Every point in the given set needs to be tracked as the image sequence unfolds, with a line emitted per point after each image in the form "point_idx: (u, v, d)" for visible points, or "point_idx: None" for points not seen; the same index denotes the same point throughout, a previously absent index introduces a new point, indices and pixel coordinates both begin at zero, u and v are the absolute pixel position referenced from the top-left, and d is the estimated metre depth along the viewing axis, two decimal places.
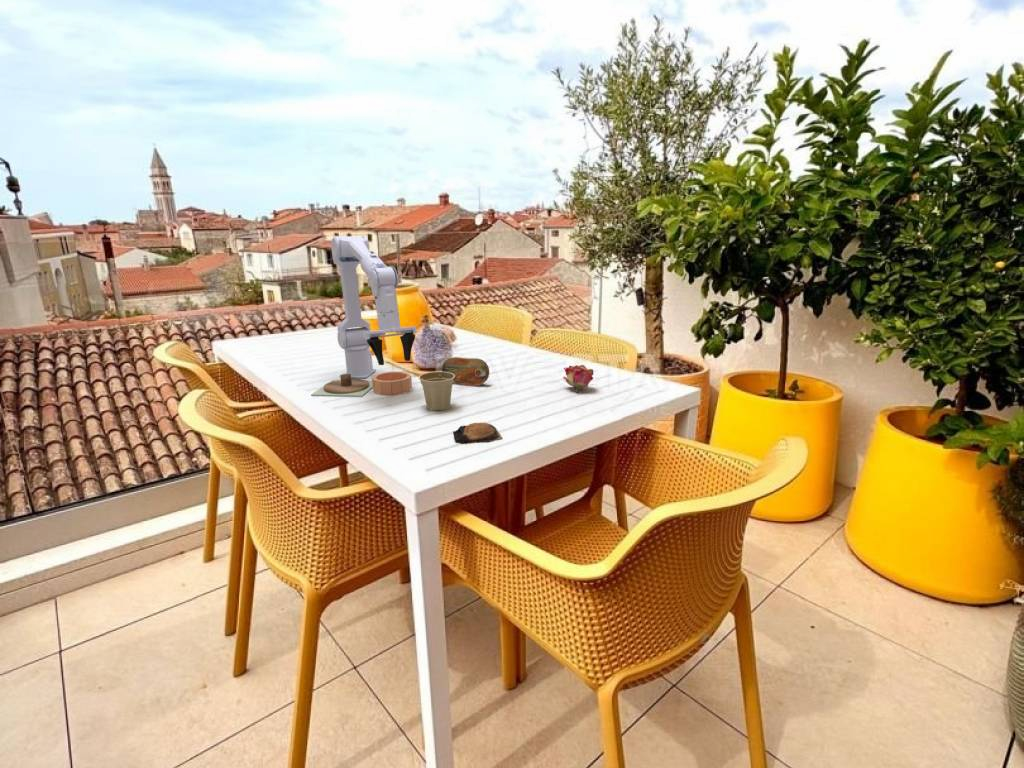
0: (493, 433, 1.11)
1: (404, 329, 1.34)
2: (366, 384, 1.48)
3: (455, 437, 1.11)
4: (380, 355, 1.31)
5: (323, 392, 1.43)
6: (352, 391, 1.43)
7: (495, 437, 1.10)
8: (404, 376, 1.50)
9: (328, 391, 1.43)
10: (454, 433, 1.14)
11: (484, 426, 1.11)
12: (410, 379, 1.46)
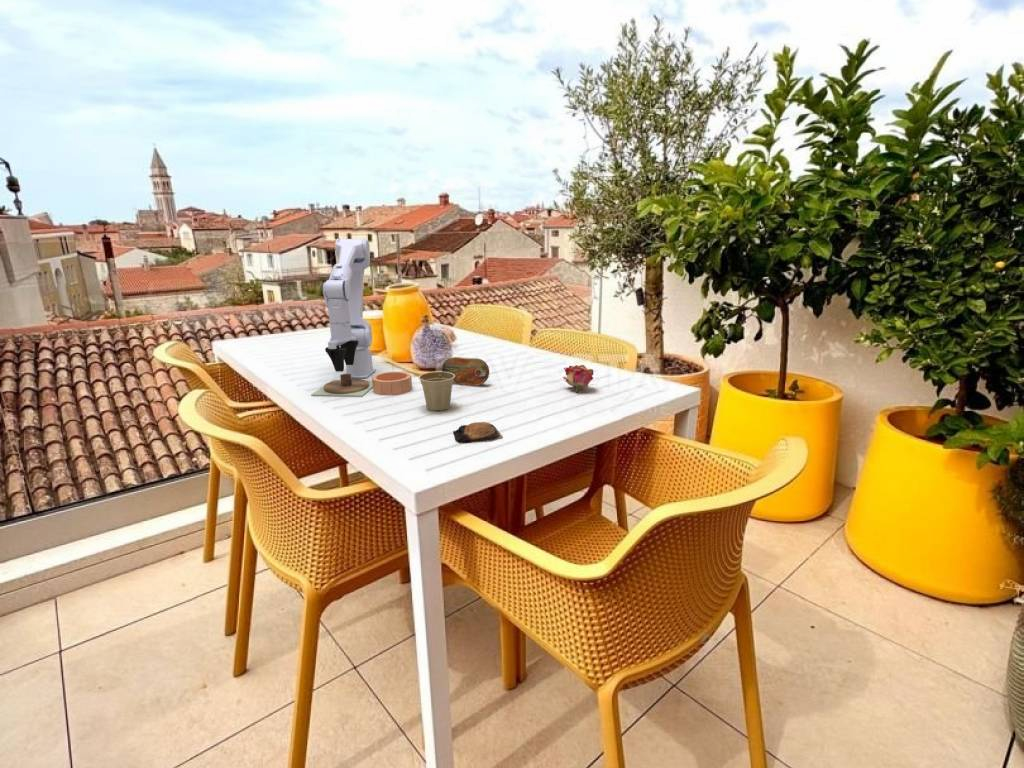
0: (494, 432, 1.11)
1: (352, 336, 1.47)
2: (366, 384, 1.48)
3: (456, 437, 1.12)
4: (343, 362, 1.41)
5: (323, 392, 1.43)
6: (352, 391, 1.43)
7: (496, 436, 1.11)
8: (404, 376, 1.50)
9: (328, 391, 1.43)
10: (454, 433, 1.14)
11: (484, 425, 1.11)
12: (410, 379, 1.46)
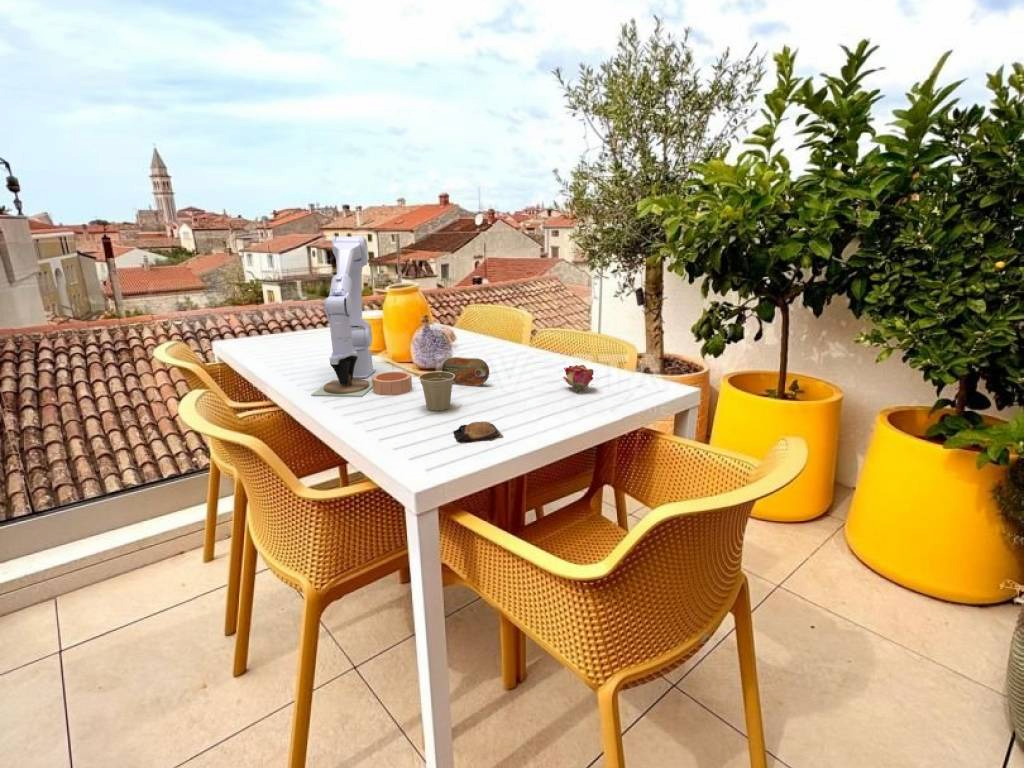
0: (494, 432, 1.12)
1: (354, 351, 1.48)
2: (366, 384, 1.48)
3: (456, 436, 1.12)
4: (347, 375, 1.45)
5: (323, 392, 1.43)
6: (352, 391, 1.43)
7: (496, 436, 1.11)
8: (404, 376, 1.50)
9: (328, 391, 1.43)
10: (454, 432, 1.14)
11: (485, 425, 1.12)
12: (410, 379, 1.46)
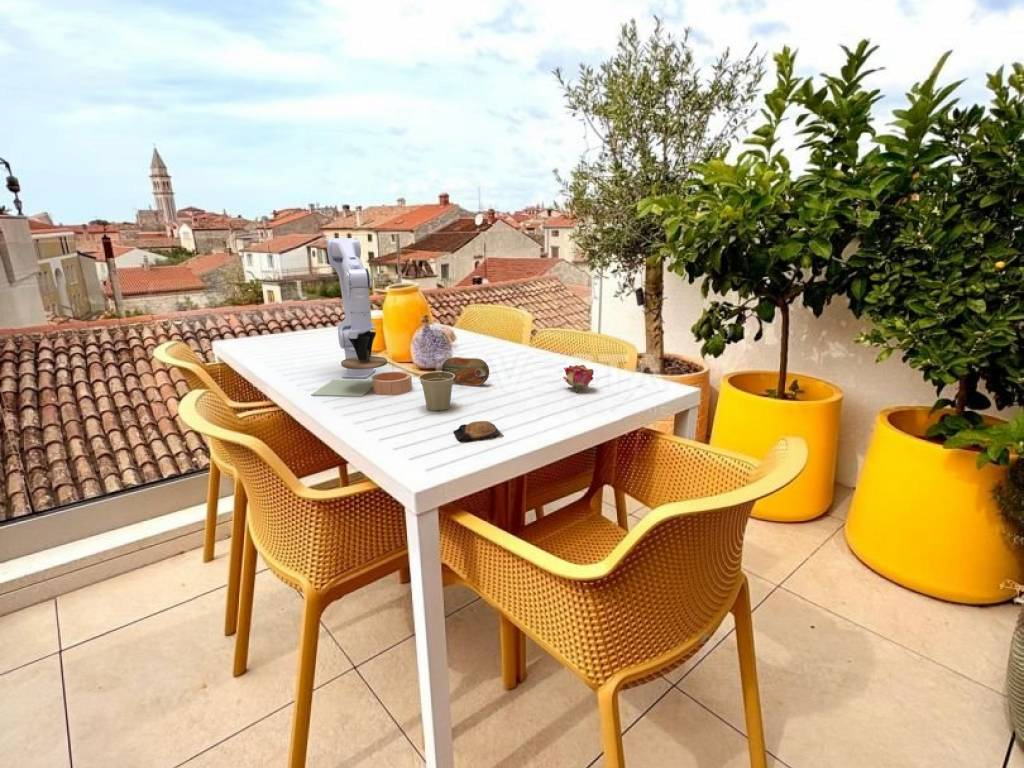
0: (495, 431, 1.12)
1: (372, 326, 1.45)
2: (384, 361, 1.46)
3: (457, 436, 1.12)
4: (366, 351, 1.42)
5: (323, 392, 1.43)
6: (371, 367, 1.40)
7: (497, 435, 1.12)
8: (404, 376, 1.50)
9: (346, 366, 1.40)
10: (455, 432, 1.14)
11: (485, 424, 1.12)
12: (410, 379, 1.46)
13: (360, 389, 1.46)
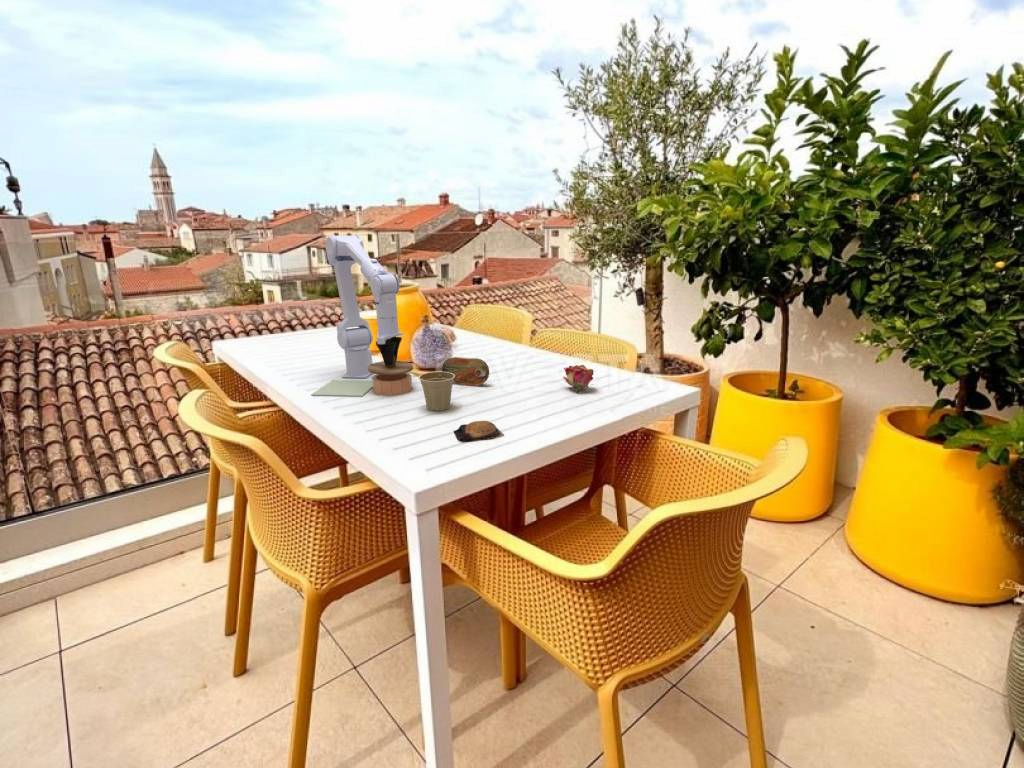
0: (495, 430, 1.12)
1: None
2: (410, 366, 1.46)
3: (457, 436, 1.12)
4: (392, 356, 1.42)
5: (323, 392, 1.43)
6: (398, 372, 1.40)
7: (497, 434, 1.12)
8: (404, 376, 1.50)
9: (373, 372, 1.40)
10: (455, 432, 1.14)
11: (485, 423, 1.12)
12: (410, 379, 1.46)
13: (360, 389, 1.46)
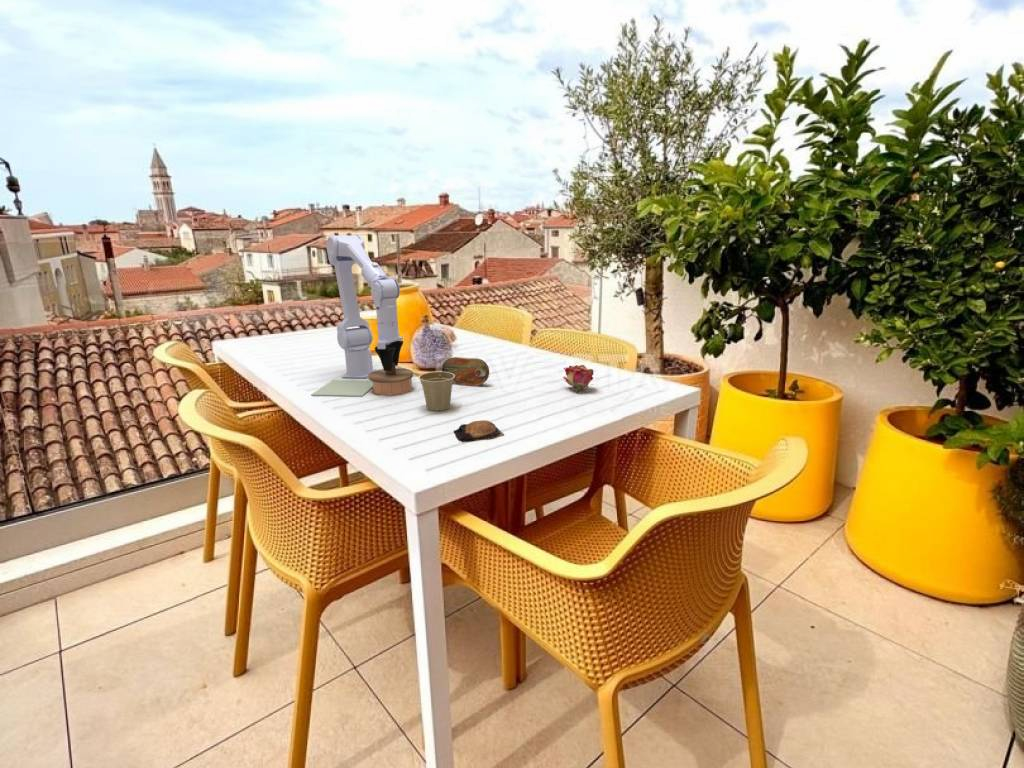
0: (495, 430, 1.13)
1: None
2: (410, 373, 1.46)
3: (457, 436, 1.12)
4: (391, 362, 1.41)
5: (323, 392, 1.43)
6: (398, 380, 1.41)
7: (497, 434, 1.12)
8: None
9: (374, 380, 1.41)
10: (455, 432, 1.14)
11: (485, 423, 1.12)
12: (410, 379, 1.46)
13: (360, 389, 1.46)
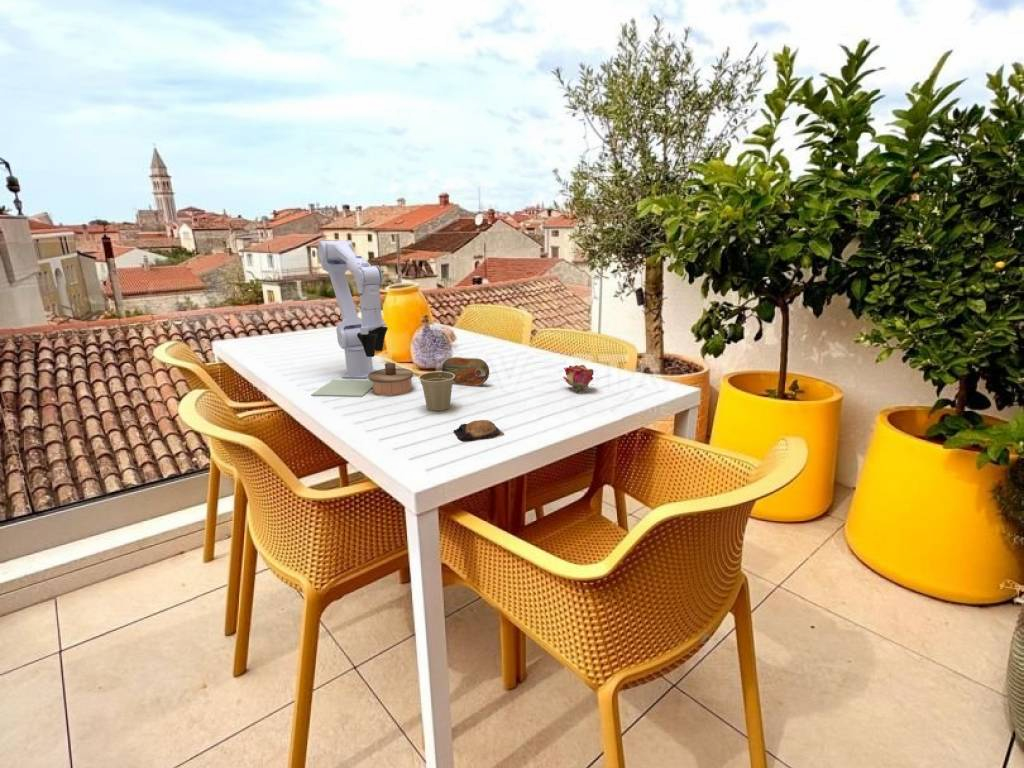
0: (495, 429, 1.13)
1: None
2: (410, 373, 1.46)
3: (458, 435, 1.12)
4: (374, 348, 1.44)
5: (323, 392, 1.43)
6: (398, 380, 1.41)
7: (498, 433, 1.13)
8: None
9: (374, 380, 1.41)
10: (455, 432, 1.15)
11: (486, 423, 1.13)
12: (410, 379, 1.46)
13: (360, 389, 1.46)
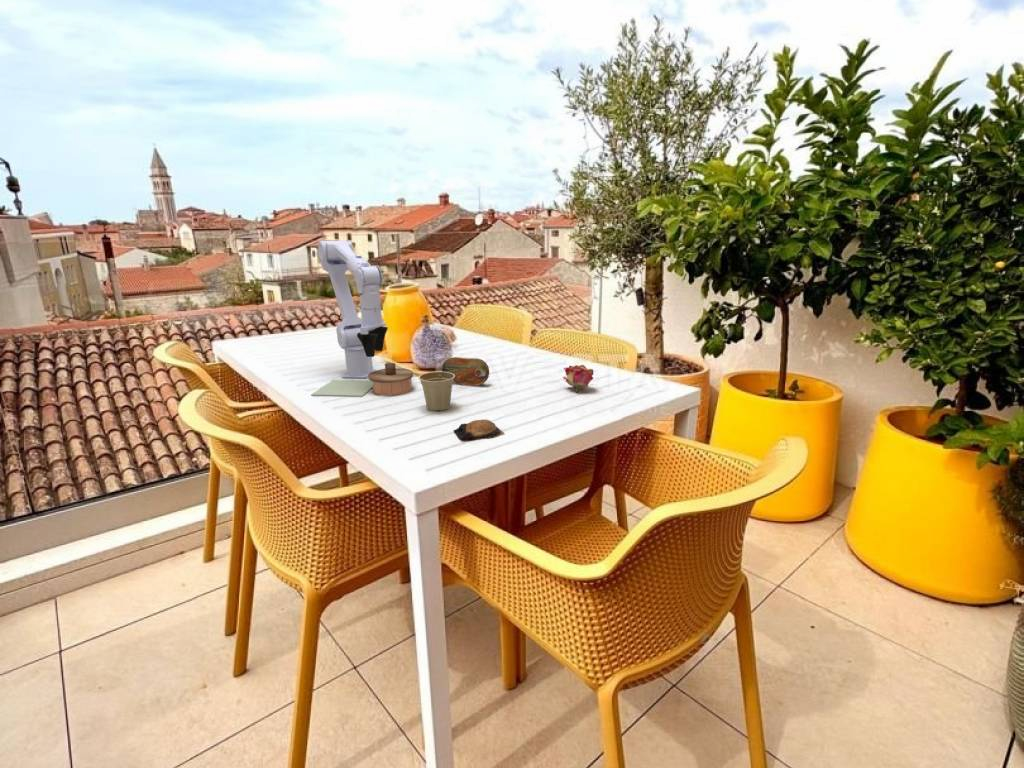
0: (495, 429, 1.13)
1: None
2: (410, 373, 1.46)
3: (458, 435, 1.12)
4: (374, 348, 1.44)
5: (323, 392, 1.43)
6: (398, 380, 1.41)
7: (498, 433, 1.13)
8: None
9: (374, 380, 1.41)
10: (455, 431, 1.15)
11: (486, 422, 1.13)
12: (410, 379, 1.46)
13: (360, 389, 1.46)
